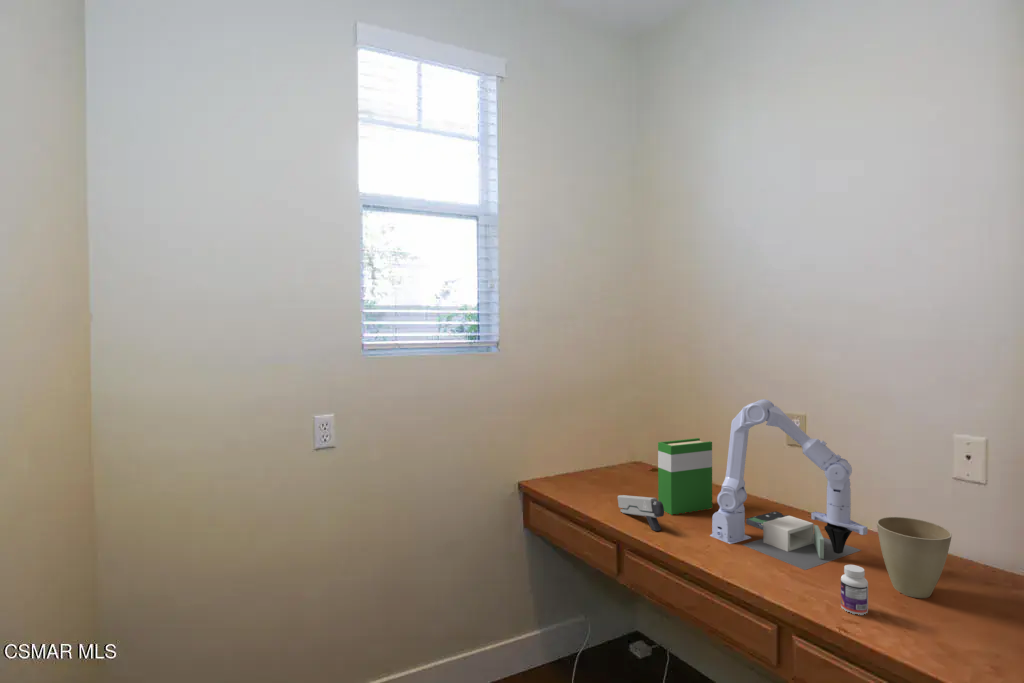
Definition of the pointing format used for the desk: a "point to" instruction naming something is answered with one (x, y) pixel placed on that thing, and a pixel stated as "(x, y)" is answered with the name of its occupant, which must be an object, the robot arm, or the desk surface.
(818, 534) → the cabinet door
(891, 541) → the plant pot
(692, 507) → the hardback book
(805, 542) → the cabinet
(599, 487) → the desk surface
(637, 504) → the gun
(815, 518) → the robot arm
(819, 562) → the mat
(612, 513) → the desk surface
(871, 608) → the desk surface
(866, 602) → the pill bottle
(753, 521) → the disk drive
